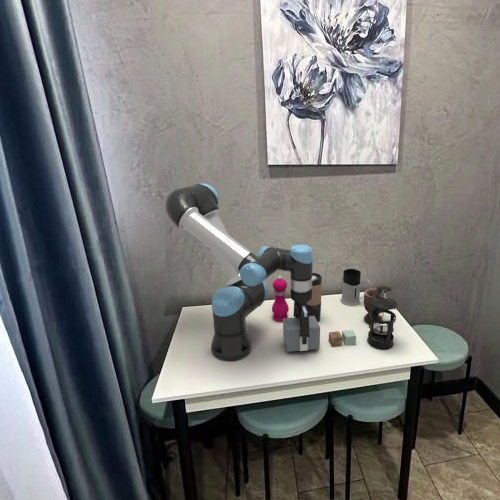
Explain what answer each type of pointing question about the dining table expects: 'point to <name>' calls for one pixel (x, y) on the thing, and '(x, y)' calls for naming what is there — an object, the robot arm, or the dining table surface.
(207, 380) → the dining table surface
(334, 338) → the walnut block
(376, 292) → the mortar and pestle
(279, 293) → the pepper mill
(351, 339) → the sage block
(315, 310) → the travel mug
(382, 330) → the french press
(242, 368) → the dining table surface
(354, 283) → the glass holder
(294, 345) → the grey rectangular block
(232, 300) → the robot arm
